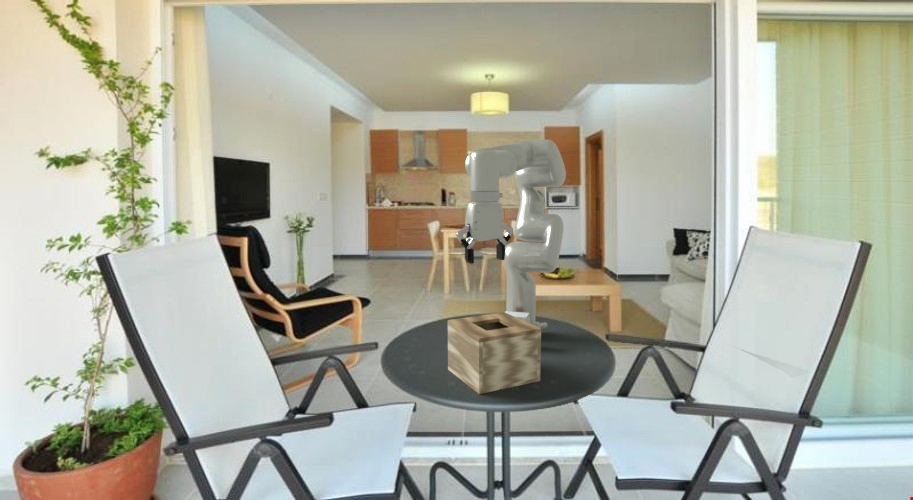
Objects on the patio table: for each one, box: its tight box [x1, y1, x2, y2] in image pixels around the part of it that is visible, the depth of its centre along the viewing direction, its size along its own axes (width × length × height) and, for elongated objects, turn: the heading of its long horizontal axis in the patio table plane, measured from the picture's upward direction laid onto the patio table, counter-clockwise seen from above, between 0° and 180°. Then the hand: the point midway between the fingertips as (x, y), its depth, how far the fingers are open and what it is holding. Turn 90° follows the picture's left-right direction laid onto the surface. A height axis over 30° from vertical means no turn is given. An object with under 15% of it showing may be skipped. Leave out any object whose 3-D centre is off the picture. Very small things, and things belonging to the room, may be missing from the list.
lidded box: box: [447, 311, 542, 395], centre depth 134 cm, size 18×18×14 cm
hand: (485, 261), depth 137 cm, fingers open, 9 cm apart
